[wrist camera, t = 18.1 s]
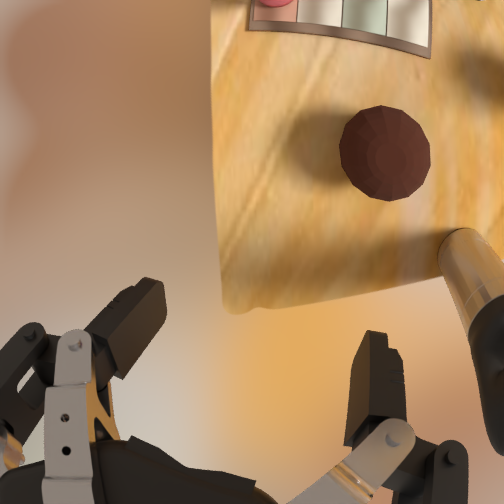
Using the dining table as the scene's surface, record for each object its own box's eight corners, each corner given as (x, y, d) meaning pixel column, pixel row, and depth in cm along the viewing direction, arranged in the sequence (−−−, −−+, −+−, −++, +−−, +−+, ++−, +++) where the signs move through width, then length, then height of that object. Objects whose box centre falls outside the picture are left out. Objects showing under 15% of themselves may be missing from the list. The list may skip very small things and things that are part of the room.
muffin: (430, 166, 35) (453, 185, 27) (366, 199, 41) (372, 227, 32) (390, 91, 32) (405, 88, 24) (323, 128, 38) (319, 136, 29)
